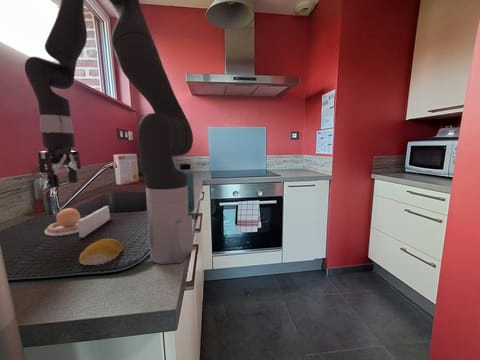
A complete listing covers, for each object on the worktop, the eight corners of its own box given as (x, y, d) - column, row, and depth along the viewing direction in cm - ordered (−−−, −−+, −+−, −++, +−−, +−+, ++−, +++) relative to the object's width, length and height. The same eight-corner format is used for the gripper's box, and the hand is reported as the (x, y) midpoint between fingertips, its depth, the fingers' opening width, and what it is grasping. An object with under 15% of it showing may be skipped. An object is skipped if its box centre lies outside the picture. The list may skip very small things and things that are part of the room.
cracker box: (133, 181, 160) (131, 153, 157) (139, 182, 158) (137, 154, 154) (115, 184, 148) (113, 154, 145) (121, 185, 145) (118, 154, 142)
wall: (107, 219, 78) (105, 206, 77) (109, 219, 78) (108, 205, 77) (79, 237, 62) (77, 221, 61) (83, 237, 62) (81, 221, 61)
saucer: (100, 223, 73) (100, 219, 73) (64, 237, 62) (63, 232, 62) (74, 220, 76) (73, 216, 76) (34, 233, 65) (33, 228, 65)
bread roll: (126, 247, 57) (125, 232, 56) (114, 265, 48) (113, 248, 48) (91, 250, 55) (89, 235, 55) (72, 269, 47) (70, 252, 46)
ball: (85, 224, 71) (83, 206, 70) (66, 230, 65) (64, 212, 64) (72, 222, 73) (69, 205, 72) (52, 228, 67) (50, 210, 66)
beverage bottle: (182, 211, 88) (180, 162, 85) (197, 212, 86) (196, 163, 83) (174, 216, 81) (172, 164, 78) (190, 217, 80) (189, 164, 77)
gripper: (61, 133, 71) (67, 181, 73) (23, 129, 57) (32, 189, 59) (85, 133, 72) (90, 181, 74) (53, 130, 58) (61, 188, 60)
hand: (64, 184), depth 67 cm, fingers open, 8 cm apart
